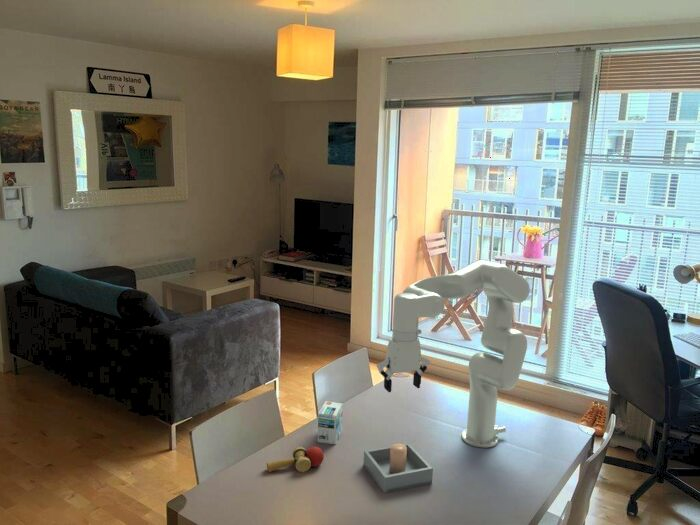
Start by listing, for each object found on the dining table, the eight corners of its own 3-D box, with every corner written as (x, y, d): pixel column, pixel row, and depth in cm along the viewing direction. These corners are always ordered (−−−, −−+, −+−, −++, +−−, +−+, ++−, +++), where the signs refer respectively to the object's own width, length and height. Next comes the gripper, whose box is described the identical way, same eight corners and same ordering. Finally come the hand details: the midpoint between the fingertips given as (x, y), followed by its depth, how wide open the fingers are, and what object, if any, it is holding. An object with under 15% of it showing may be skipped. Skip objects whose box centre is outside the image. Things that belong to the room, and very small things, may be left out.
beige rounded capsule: (401, 465, 181) (403, 442, 179) (407, 474, 176) (409, 450, 174) (387, 467, 179) (388, 444, 177) (392, 476, 175) (394, 453, 173)
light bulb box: (335, 445, 194) (336, 415, 192) (316, 442, 195) (317, 413, 193) (342, 430, 204) (343, 402, 202) (324, 428, 206) (325, 400, 204)
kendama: (271, 483, 173) (327, 467, 178) (268, 463, 172) (324, 448, 178) (267, 474, 180) (321, 459, 185) (264, 454, 180) (318, 440, 185)
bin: (408, 457, 188) (408, 443, 187) (431, 483, 173) (433, 468, 172) (363, 465, 182) (364, 450, 181) (384, 493, 167) (385, 477, 167)
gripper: (424, 328, 176) (421, 380, 179) (373, 333, 170) (371, 387, 173) (436, 336, 169) (433, 389, 172) (384, 341, 163) (381, 397, 166)
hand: (402, 388), depth 173 cm, fingers open, 9 cm apart
